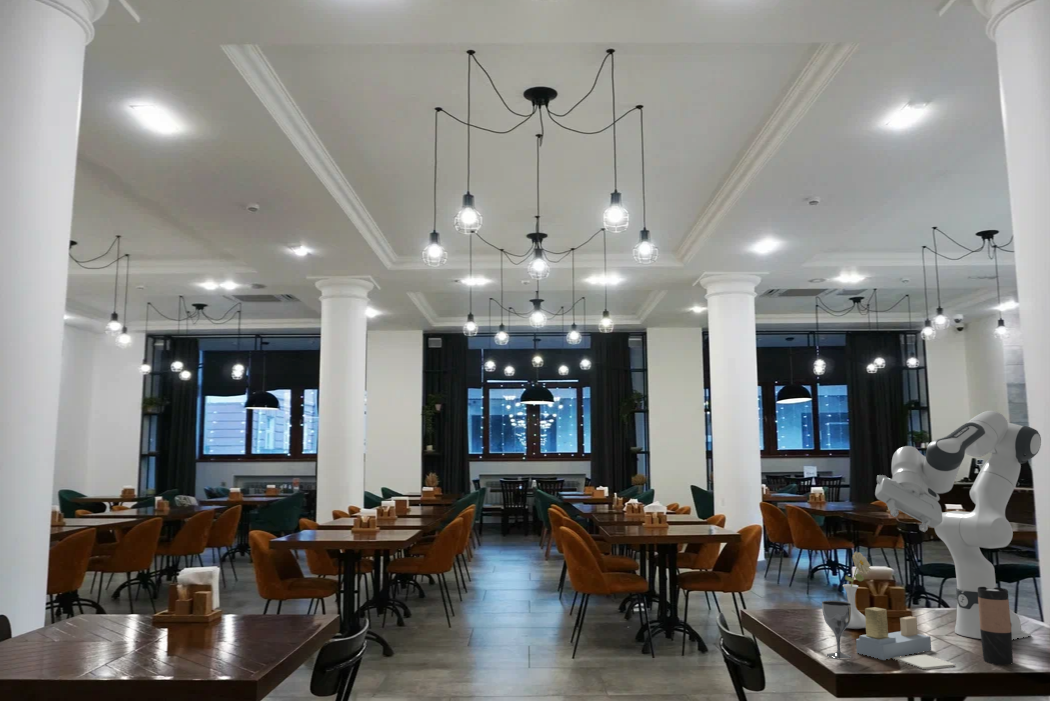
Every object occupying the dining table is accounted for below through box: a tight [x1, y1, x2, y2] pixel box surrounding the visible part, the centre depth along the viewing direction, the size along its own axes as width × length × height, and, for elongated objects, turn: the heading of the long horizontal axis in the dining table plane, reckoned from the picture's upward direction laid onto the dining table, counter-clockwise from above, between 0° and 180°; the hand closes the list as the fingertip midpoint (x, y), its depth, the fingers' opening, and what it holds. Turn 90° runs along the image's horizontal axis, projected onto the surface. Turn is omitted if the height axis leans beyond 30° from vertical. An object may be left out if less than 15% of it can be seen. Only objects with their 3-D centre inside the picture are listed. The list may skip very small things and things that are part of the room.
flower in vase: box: [842, 551, 871, 630], centre depth 265 cm, size 13×11×25 cm
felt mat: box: [892, 653, 956, 670], centre depth 219 cm, size 11×11×1 cm
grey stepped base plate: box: [855, 615, 932, 661], centre depth 232 cm, size 22×9×9 cm, turn 119°
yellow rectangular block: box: [864, 606, 889, 639], centre depth 229 cm, size 4×4×9 cm
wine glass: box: [821, 600, 852, 659], centre depth 227 cm, size 8×8×15 cm
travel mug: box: [978, 586, 1014, 665], centre depth 221 cm, size 8×8×20 cm
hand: (909, 522), depth 228 cm, fingers open, 8 cm apart
